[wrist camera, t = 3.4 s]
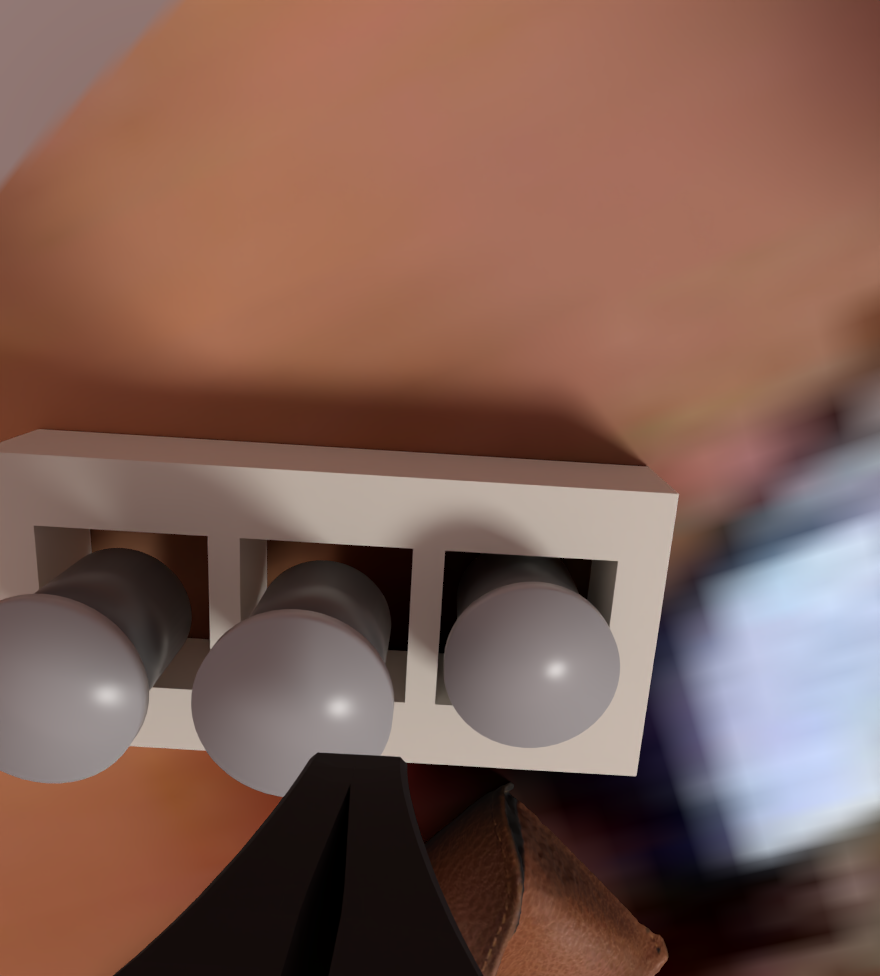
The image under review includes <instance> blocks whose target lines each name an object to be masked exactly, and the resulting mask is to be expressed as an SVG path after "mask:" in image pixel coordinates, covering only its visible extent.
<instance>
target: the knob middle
mask: <svg viewBox="0 0 880 976" xmlns="http://www.w3.org/2000/svg"><path fill="white" fill-rule="evenodd" d="M390 633H391V616H390V610H389V607H388V604H387V602H386V600H385V597H384V595H383V594H382V592H381V591H380V589H379V588H378V587H377V586H376V584H375V583H374V582H373V581H372V580H371V579H370V578H369V577H367V576H366V575H365V574H363V573H362V572H360V571H359V570H357V569H355V568H353V567H351V566H348V565H346V564H343V563H339V562H334V561H309V562H305V563H301V564H298V565H296V566H293V567H291V568H289V569H287V570H286V571H284V572H283V573H281V574H280V575H279V576H278V577H277V578H276V579H275V580H274V581H273V582H272V583H271V584H270V585H269V587H268V588H267V590H266V591H265V593H264V595H263V596H262V598H261V600H260V601H259V603H258V604H257V606H256V608H255V609H254V611H253V613H252V614H251V616H250V617H249V618H247V619H245V620H243V621H241V622H240V623H238V624H236V625H235V626H233V627H232V628H231V629H229V630H228V631H227V632H225V633H224V634H223V635H222V636H221V637H220V638H219V639H218V640H217V642H216V643H215V644H214V646H213V647H212V648H211V650H210V651H209V653H208V654H207V656H206V657H205V659H204V660H203V662H202V664H201V666H200V668H199V670H198V672H197V674H196V677H195V680H194V683H193V689H192V694H191V710H192V718H193V722H194V726H195V730H196V732H197V734H198V737H199V739H200V741H201V743H202V745H203V746H204V748H205V750H206V751H207V753H208V754H209V755H210V757H211V758H212V759H213V760H214V761H215V762H216V763H217V764H218V765H219V767H220V768H221V769H223V770H224V771H225V772H226V773H228V774H229V775H230V776H231V777H233V778H234V779H236V780H238V781H239V782H241V783H242V784H244V785H246V786H249V787H251V788H253V789H255V790H258V791H261V792H264V793H267V794H271V795H276V796H282V797H284V796H285V794H286V793H287V792H288V790H289V789H290V787H291V786H292V785H293V783H294V782H295V780H296V779H297V777H298V776H299V775H300V773H301V772H302V770H303V769H304V767H305V765H306V764H307V762H308V761H309V759H310V758H311V757H313V756H314V755H315V754H316V753H317V752H320V753H339V754H358V755H377V756H380V755H381V754H382V752H383V751H384V748H385V746H386V744H387V742H388V739H389V736H390V732H391V728H392V720H393V712H394V691H393V685H392V681H391V677H390V674H389V671H388V669H387V667H386V665H385V663H386V657H387V651H388V645H389V639H390Z"/></svg>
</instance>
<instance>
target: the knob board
mask: <svg viewBox="0 0 880 976" xmlns="http://www.w3.org/2000/svg"><path fill="white" fill-rule="evenodd" d="M678 497H679V494H678V493H677V492H676V491H675V490H674V489H673V488H672V487H670V486H669V485H668V484H667V483H666V482H665V481H664V480H663V479H662V478H660V477H659V476H658V475H657V474H656V473H655V472H654V471H653V470H652V469H650V468H649V467H647V466H631V465H614V464H598V463H582V462H566V461H549V460H533V459H517V458H501V457H484V456H468V455H452V454H436V453H419V452H403V451H387V450H371V449H354V448H338V447H322V446H306V445H289V444H273V443H257V442H241V441H224V440H208V439H192V438H176V437H160V436H143V435H127V434H111V433H95V432H78V431H62V430H46V429H37V430H34V431H32V432H29V433H26V434H23V435H20V436H17V437H14V438H11V439H8V440H5V441H2V442H0V600H3V599H5V598H9V597H13V596H17V595H24V594H34V593H35V592H37V591H38V590H39V589H41V588H42V587H43V586H45V585H46V584H47V583H49V582H50V581H51V580H53V579H54V578H56V577H57V576H58V575H60V574H61V573H62V572H64V571H65V570H66V569H68V568H69V567H70V566H72V565H73V564H75V563H76V562H77V561H79V560H80V559H81V558H83V557H85V556H86V555H88V554H91V553H92V550H91V535H90V529H99V530H116V531H132V532H148V533H165V534H181V535H198V536H208V575H209V617H210V639H197V638H187V639H186V641H185V643H184V645H183V646H182V648H181V649H180V650H179V652H178V653H177V654H176V656H175V657H174V658H173V660H172V661H171V663H170V664H169V665H168V667H167V668H166V669H165V671H164V672H163V673H162V675H161V676H160V677H159V679H158V680H157V681H156V683H155V684H154V685H153V687H152V688H151V689H150V691H149V705H148V710H147V714H146V717H145V720H144V723H143V725H142V727H141V729H140V731H139V733H138V734H137V736H136V737H135V738H134V740H133V741H132V743H131V744H130V746H138V747H155V748H172V749H188V750H205V748H204V746H203V745H202V743H201V741H200V739H199V737H198V734H197V732H196V730H195V726H194V722H193V718H192V710H191V694H192V689H193V683H194V680H195V677H196V674H197V672H198V670H199V668H200V666H201V664H202V662H203V660H204V659H205V657H206V656H207V654H208V653H209V651H210V650H211V648H212V647H213V646H214V644H215V643H216V642H217V640H218V639H219V638H220V637H221V636H222V635H223V634H224V633H225V632H227V631H228V630H229V629H231V628H232V627H233V626H235V625H236V624H238V623H240V622H241V621H243V620H245V619H247V618H249V617H250V616H251V614H252V613H253V611H254V609H255V608H256V606H257V604H258V603H259V601H260V600H261V598H262V596H263V595H264V593H265V591H266V590H267V540H280V541H296V542H312V543H329V544H345V545H362V546H378V547H394V548H411V549H413V561H412V580H411V598H410V617H409V635H408V651H396V650H388V651H387V657H386V663H385V665H386V667H387V669H388V671H389V674H390V677H391V681H392V685H393V691H394V712H393V720H392V728H391V732H390V736H389V739H388V742H387V744H386V746H385V748H384V751H383V752H382V754H381V755H380V756H396V757H401V758H402V759H403V760H404V761H405V762H406V763H423V764H440V765H457V766H474V767H490V768H507V769H524V770H541V771H557V772H574V773H591V774H608V775H625V776H636V774H637V768H638V761H639V754H640V748H641V741H642V734H643V728H644V721H645V715H646V708H647V701H648V695H649V688H650V682H651V675H652V668H653V662H654V655H655V649H656V642H657V635H658V629H659V622H660V616H661V609H662V602H663V596H664V589H665V583H666V576H667V569H668V563H669V556H670V550H671V543H672V536H673V530H674V523H675V517H676V510H677V503H678ZM445 551H460V552H476V553H493V554H509V555H526V556H542V557H558V558H575V559H591V560H592V564H591V572H590V580H589V589H588V597H587V600H588V601H589V602H590V603H591V604H592V605H593V606H594V607H595V608H596V609H597V610H598V611H599V612H600V614H601V615H602V616H603V617H604V619H605V621H606V623H607V624H608V626H609V628H610V630H611V632H612V634H613V637H614V639H615V642H616V644H617V648H618V652H619V657H620V677H619V681H618V686H617V689H616V692H615V695H614V697H613V699H612V701H611V703H610V705H609V706H608V708H607V709H606V710H605V712H604V713H603V715H602V716H601V717H600V718H599V719H598V720H597V721H596V722H595V723H594V724H593V725H592V726H590V727H589V728H588V729H587V730H585V731H584V732H582V733H581V734H579V735H578V736H576V737H573V738H571V739H569V740H567V741H564V742H562V743H559V744H555V745H551V746H547V747H538V748H521V747H513V746H508V745H504V744H501V743H498V742H495V741H492V740H490V739H488V738H486V737H484V736H482V735H481V734H479V733H478V732H476V731H475V730H474V729H472V728H471V727H470V726H469V725H468V724H467V723H466V722H465V721H464V720H463V719H462V718H461V717H460V716H459V714H458V713H457V711H456V710H455V708H454V707H453V705H452V703H451V701H450V699H449V697H448V693H447V690H446V687H445V680H444V653H438V651H439V635H440V620H441V605H442V590H443V575H444V560H445ZM205 751H206V750H205Z"/></svg>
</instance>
